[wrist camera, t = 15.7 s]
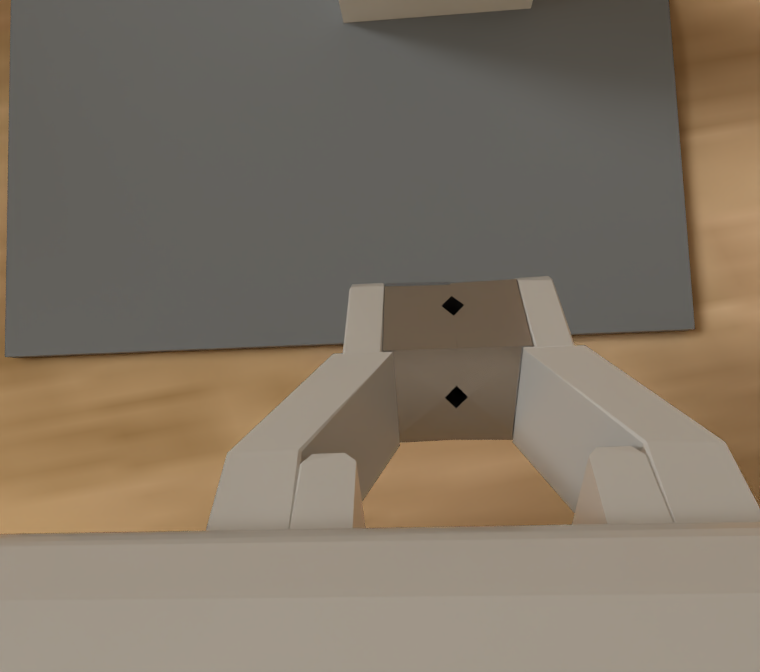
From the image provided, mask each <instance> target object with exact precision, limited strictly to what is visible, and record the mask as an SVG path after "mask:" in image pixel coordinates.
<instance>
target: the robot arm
mask: <svg viewBox="0 0 760 672" xmlns="http://www.w3.org/2000/svg"><path fill="white" fill-rule="evenodd" d="M455 439H456V440H513V443H514V444H515V446H516V447H517V448H518V449H519V450H520V451H521V452H522V454H523V455H524V456H525V457H526V458H527V459H528V460H529V462H530V463H531V464H532V465H533V466H534V467H535V468H536V470H537V471H538V472H539V473H540V474H541V475H542V476H543V478H544V479H545V480H546V481H547V482H548V483H549V484H550V486H551V487H552V488H553V489H554V490H555V491H556V492H557V494H558V495H559V496H560V497H561V498H562V499H563V501H564V502H565V503H566V504H567V505H568V506H569V507H570V509H571V510H572V511H573V512H574V513H575V514H574V518H573V522H572V525H519V526H457V527H396V528H366V527H365V520H364V513H363V506H362V501H363V499H364V498H365V497H366V495H367V494H368V492H369V491H370V489H371V488H372V486H373V485H374V483H375V482H376V480H377V479H378V477H379V476H380V474H381V473H382V471H383V470H384V468H385V467H386V465H387V464H388V462H389V461H390V459H391V458H392V456H393V455H394V453H395V452H396V450H397V449H398V447H399V446H400V442H419V441H438V440H455ZM0 672H760V508H759V506H758V504H757V502H756V500H755V498H754V496H753V494H752V492H751V491H750V489H749V487H748V485H747V483H746V481H745V479H744V477H743V475H742V473H741V471H740V469H739V467H738V465H737V464H736V462H735V460H734V458H733V456H732V454H731V452H730V450H729V448H728V446H727V444H726V442H724V441H723V440H722V439H720V438H719V437H717V436H716V435H714V434H713V433H711V432H710V431H709V430H707V429H706V428H704V427H703V426H701V425H700V424H698V423H697V422H696V421H694V420H693V419H691V418H690V417H688V416H687V415H685V414H684V413H682V412H681V411H680V410H678V409H677V408H675V407H674V406H672V405H671V404H669V403H668V402H667V401H665V400H664V399H662V398H661V397H659V396H658V395H656V394H655V393H654V392H652V391H651V390H649V389H648V388H646V387H645V386H643V385H642V384H641V383H639V382H638V381H636V380H635V379H633V378H632V377H630V376H629V375H627V374H626V373H625V372H623V371H622V370H620V369H619V368H617V367H616V366H614V365H613V364H612V363H610V362H609V361H607V360H606V359H604V358H603V357H601V356H600V355H599V354H597V353H596V352H594V351H593V350H591V349H590V348H588V347H587V346H585V345H575V344H574V341H573V338H572V335H571V333H570V330H569V327H568V324H567V321H566V318H565V315H564V312H563V309H562V306H561V303H560V300H559V297H558V294H557V291H556V288H555V285H554V282H553V279H552V278H550V277H549V276H539V277H525V278H515V279H507V280H488V281H469V282H412V283H385V285H384V284H383V283H372V284H352V286H351V288H350V290H349V299H348V309H347V318H346V327H345V337H344V346H343V353H337V354H332V355H331V356H330V357H329V358H328V359H327V360H326V361H325V362H324V363H323V364H322V365H321V366H320V367H318V368H317V369H316V370H315V371H314V372H313V373H312V374H311V375H310V376H309V377H308V378H307V379H306V380H305V381H304V382H302V383H301V384H300V385H299V386H298V387H297V388H296V389H295V390H294V391H293V392H292V393H291V394H290V395H289V396H288V397H286V398H285V399H284V400H283V401H282V402H281V403H280V404H279V405H278V406H277V407H276V408H275V409H274V410H273V411H272V412H270V413H269V414H268V415H267V416H266V417H265V418H264V419H263V420H262V421H261V422H260V423H259V424H258V425H257V426H256V427H254V428H253V429H252V430H251V431H250V432H249V433H248V434H247V435H246V436H245V437H244V438H243V439H242V440H241V441H239V442H238V443H237V444H236V445H235V446H234V447H233V448H232V449H231V450H230V451H229V452H228V453H227V456H226V459H225V463H224V466H223V470H222V474H221V477H220V481H219V485H218V488H217V492H216V495H215V499H214V503H213V506H212V510H211V514H210V517H209V521H208V524H207V528H206V531H151V532H90V533H28V534H0Z"/></svg>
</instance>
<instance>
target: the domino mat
mask: <svg viewBox="0 0 760 672" xmlns="http://www.w3.org/2000/svg"><path fill="white" fill-rule="evenodd" d="M539 276H549V277H550V278H552V279H553V282H554V285H555V288H556V291H557V294H558V297H559V300H560V303H561V306H562V309H563V312H564V315H565V318H566V321H567V324H568V327H569V330H570V333H571V335H588V334H612V333H637V332H662V331H687V330H692V329H695V325H694V312H693V300H692V287H691V274H690V262H689V249H688V236H687V224H686V211H685V199H684V186H683V173H682V161H681V148H680V135H679V123H678V110H677V98H676V85H675V72H674V60H673V47H672V35H671V22H670V9H669V0H533V2H532V6H531V8H530V9H517V10H504V11H491V12H478V13H465V14H452V15H439V16H427V17H414V18H401V19H388V20H375V21H362V22H349V23H343V18H342V14H341V9H340V5H339V0H11V28H10V86H9V144H8V202H7V261H6V319H5V357H13V358H18V357H42V356H67V355H92V354H117V353H141V352H166V351H191V350H216V349H241V348H265V347H290V346H315V345H340V344H344V337H345V327H346V318H347V309H348V299H349V290H350V288H351V286H352V284H372V283H383V284H384V285H385V283H412V282H469V281H488V280H507V279H515V278H525V277H539Z"/></svg>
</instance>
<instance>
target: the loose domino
mask: <svg viewBox="0 0 760 672" xmlns="http://www.w3.org/2000/svg"><path fill="white" fill-rule="evenodd" d="M532 2H533V0H339V5H340V9H341V14H342V18H343V23H349V22H362V21H375V20H388V19H401V18H414V17H427V16H439V15H452V14H465V13H478V12H491V11H504V10H517V9H530V8H531V6H532Z"/></svg>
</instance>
